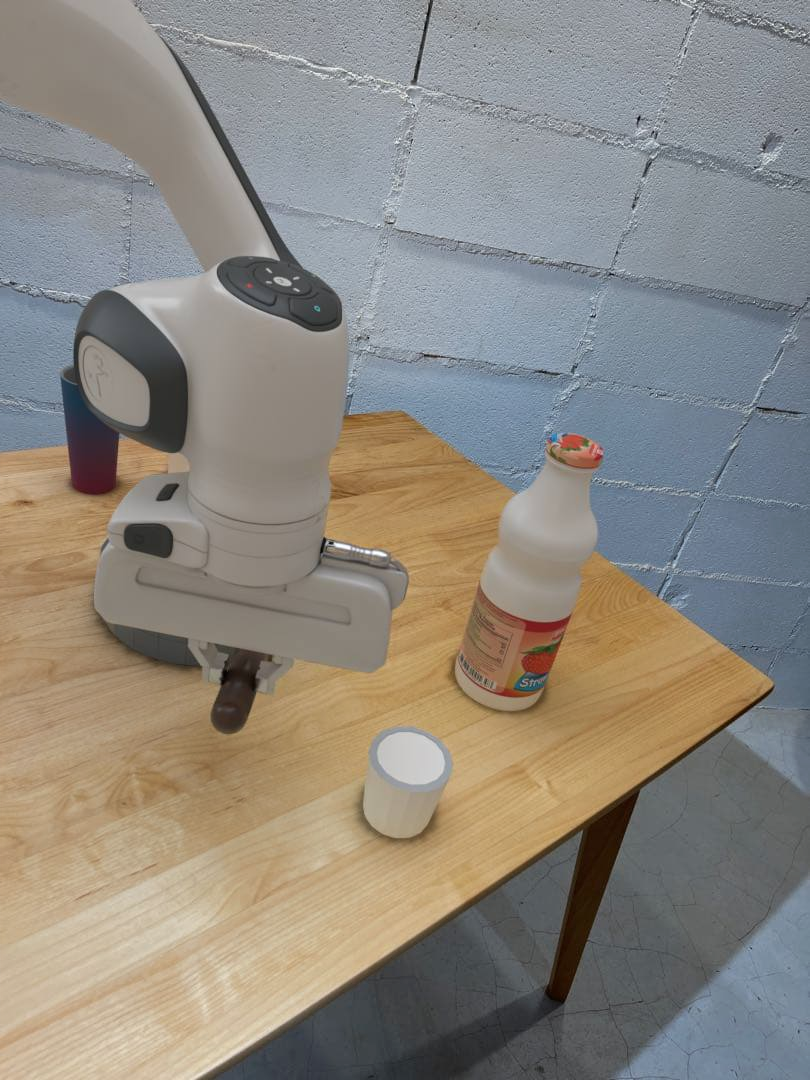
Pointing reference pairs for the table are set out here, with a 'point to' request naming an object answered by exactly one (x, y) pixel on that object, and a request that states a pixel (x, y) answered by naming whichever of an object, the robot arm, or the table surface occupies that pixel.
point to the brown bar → (237, 691)
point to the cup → (87, 441)
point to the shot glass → (404, 780)
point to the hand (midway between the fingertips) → (239, 683)
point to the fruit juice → (531, 580)
